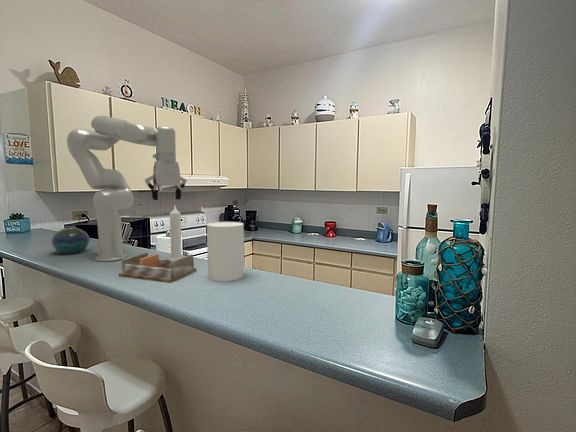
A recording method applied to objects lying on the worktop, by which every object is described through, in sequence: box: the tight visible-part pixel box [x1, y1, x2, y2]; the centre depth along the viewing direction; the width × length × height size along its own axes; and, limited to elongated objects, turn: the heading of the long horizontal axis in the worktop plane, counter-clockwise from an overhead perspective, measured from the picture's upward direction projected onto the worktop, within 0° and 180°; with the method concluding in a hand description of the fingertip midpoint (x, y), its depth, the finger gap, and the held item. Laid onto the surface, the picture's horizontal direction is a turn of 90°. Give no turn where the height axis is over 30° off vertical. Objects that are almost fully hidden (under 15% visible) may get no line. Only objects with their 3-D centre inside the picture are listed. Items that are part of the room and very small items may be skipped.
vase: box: [51, 224, 90, 255], centre depth 156 cm, size 15×15×13 cm
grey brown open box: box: [118, 252, 197, 283], centre depth 123 cm, size 23×16×7 cm
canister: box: [206, 221, 245, 282], centre depth 120 cm, size 14×14×20 cm
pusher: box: [139, 253, 160, 267], centre depth 124 cm, size 1×9×5 cm, turn 163°
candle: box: [168, 205, 183, 260], centre depth 142 cm, size 7×7×25 cm
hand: (167, 199), depth 132 cm, fingers open, 9 cm apart
